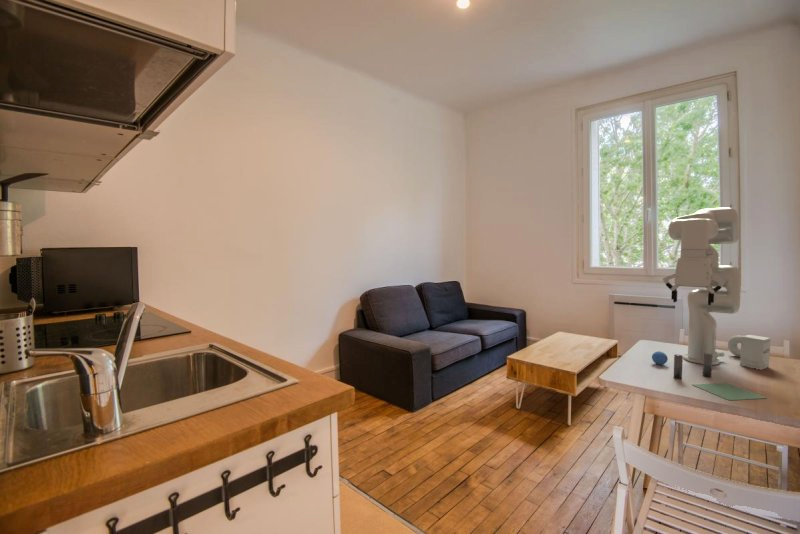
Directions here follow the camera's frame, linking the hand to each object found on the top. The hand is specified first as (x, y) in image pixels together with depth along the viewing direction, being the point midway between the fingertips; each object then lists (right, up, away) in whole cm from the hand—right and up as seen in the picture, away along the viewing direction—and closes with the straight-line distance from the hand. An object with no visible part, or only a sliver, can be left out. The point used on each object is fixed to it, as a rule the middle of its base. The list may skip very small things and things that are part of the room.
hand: (691, 303), depth 133 cm
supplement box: (+47, -30, +27) cm, 61 cm away
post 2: (+17, -30, +15) cm, 38 cm away
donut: (+52, -29, +40) cm, 72 cm away
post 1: (+5, -30, +13) cm, 34 cm away
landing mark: (+13, -31, 0) cm, 34 cm away
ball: (+9, -27, +30) cm, 41 cm away
